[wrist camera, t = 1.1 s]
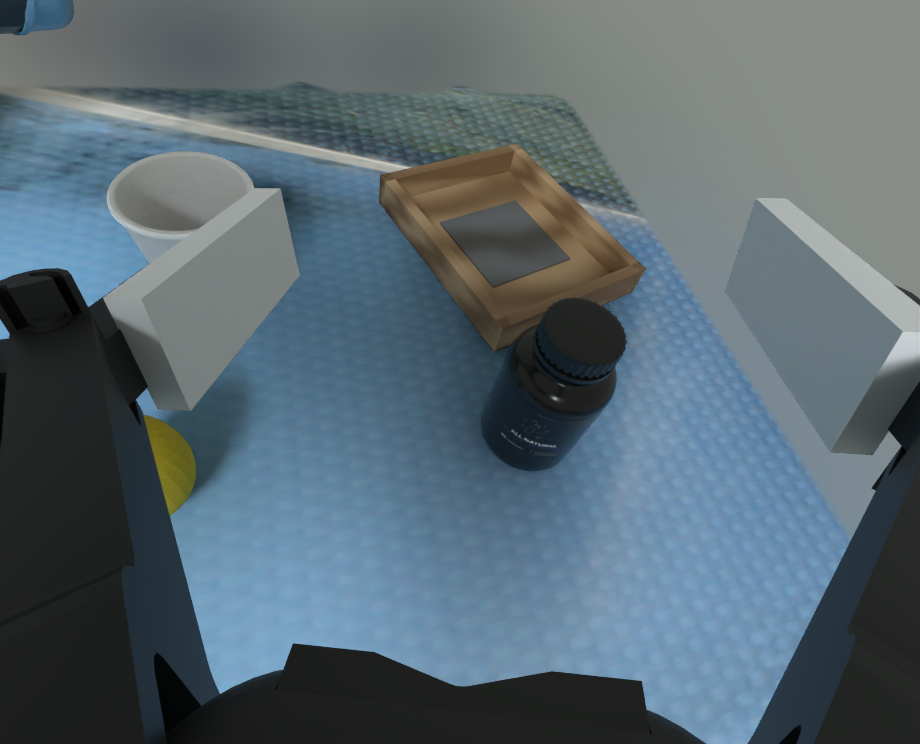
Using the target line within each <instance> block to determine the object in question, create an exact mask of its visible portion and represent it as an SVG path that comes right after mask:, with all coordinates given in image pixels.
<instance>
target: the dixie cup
mask: <svg viewBox="0 0 920 744" xmlns="http://www.w3.org/2000/svg"><path fill="white" fill-rule="evenodd" d="M253 189H254V185H253V182H252V180H251V178H250V177H249V176H248V174H247V173H246V172H245V171H244V170H243V169H242V168H240V167H239V166H238V165H236V164H234V163H233V162H231V161H229V160H226V159H224V158H221V157H219V156H215V155H212V154H207V153H201V152H191V151H179V152H168V153H162V154H157V155H153V156H150V157H147V158H144V159H142V160H139V161H137V162H135V163H133V164H131V165H130V166H128V167H127V168H125V169H124V170H123V171H121V172H120V173H119V174H118V175H117V176H116V177H115V179H114V180H113V181H112V183H111V184H110V186H109V189H108V192H107V204H108V208H109V210H110V212H111V214H112V215H113V217H114V218H115V219H116V220H117V221H118V222H119V223H120V224H121V225H123V226H124V227H125V228H126V229H127V231H128V232H129V234H130V235H131V237H132V238H133V240H134V241H135V243H136V244H137V246H138V247H139V249H140V250H141V252H142V253H143V255H144V256H145V257H146V259H147V260H148V262H149V263H152V262H153V261H154V260H156V259H157V258H159V257H160V256H161V255H163V254H164V253H166V252H167V251H168V250H170V249H171V248H172V247H174V246H175V245H177V244H178V243H179V242H181V241H182V240H184V239H185V238H186V237H188V236H189V235H191V234H192V233H193V232H195V231H196V230H198V229H199V228H200V227H202V226H203V225H205V224H206V223H207V222H209V221H210V220H211V219H213V218H214V217H216V216H217V215H218V214H220V213H221V212H223V211H224V210H225V209H227V208H228V207H230V206H231V205H232V204H234V203H235V202H237V201H238V200H239V199H241V198H242V197H243V196H245V195H246V194H248V193H249V192H250V191H252V190H253Z"/></svg>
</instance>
